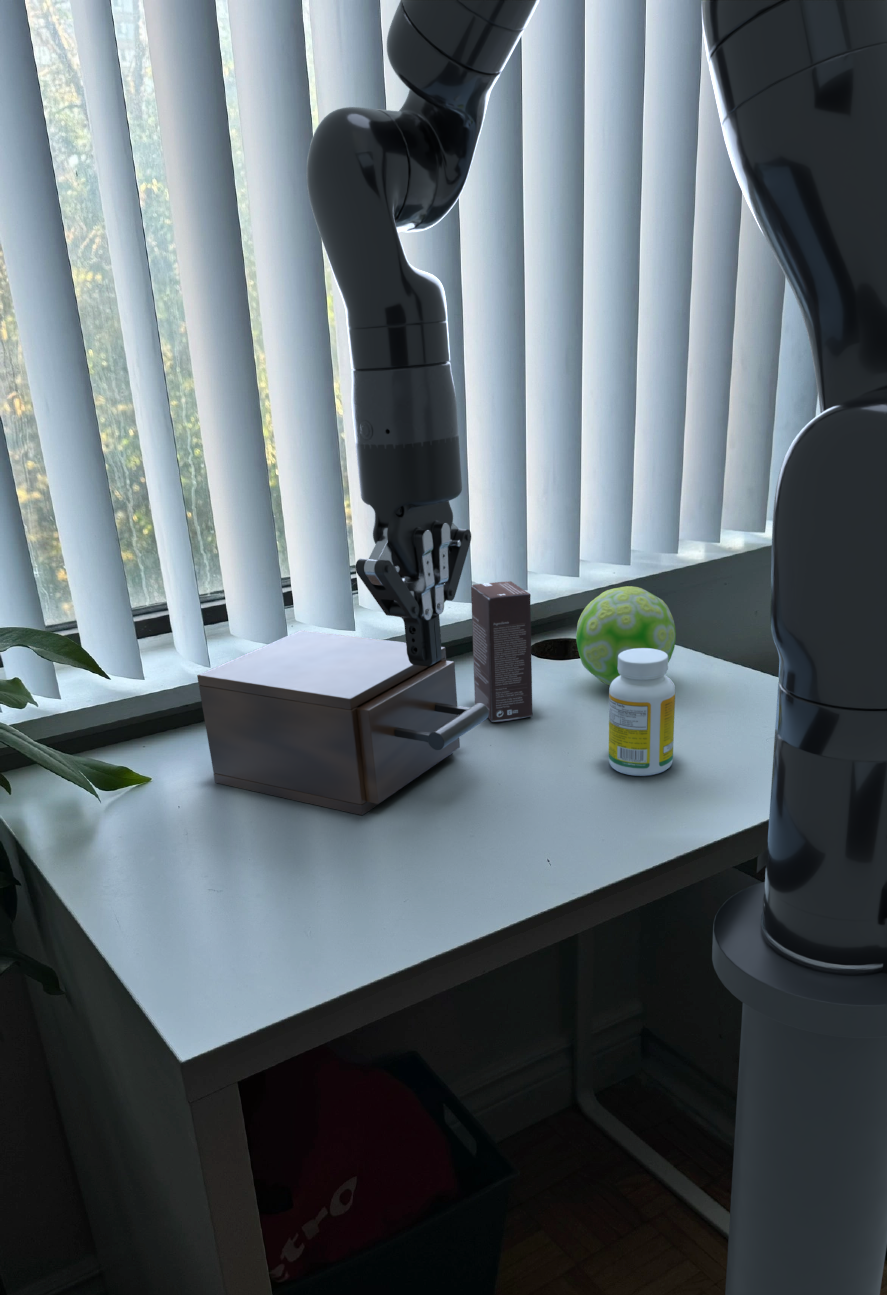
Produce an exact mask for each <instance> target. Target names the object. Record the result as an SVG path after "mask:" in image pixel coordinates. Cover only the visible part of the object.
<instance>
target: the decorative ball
mask: <svg viewBox="0 0 887 1295" xmlns="http://www.w3.org/2000/svg"><path fill="white" fill-rule="evenodd" d="M576 625H577V626H576V634H575V641H576V647H577V651H578V655H579V657H580V661H581V662H580V663H581V664H582V666H583V667H584V669H585V670H586V671H588V672H589V673H591V674H592V676H594V677H595V679H597V680H598V681H600V682H601V683H603V684H606V686H607V685H608V686H610V685H611V683H612V681H613V680H614V679H615V678H617V677H618V676H620V674H619V672H618V669H617V667H618V655H619V654H620V653H621V652H623V651H626V650H630V649H636V648H651V649H657V650H661V651H663V652H665V653H666V654H667V655H668V663H670V660H671V658H672V656H673V653H674V652H675V647H676V638H677V631H676V625H675V620H674V617H673V614H672V613H671V610H670V608H669V606H668V605H667V603H665V601H664V600H663V599H662V598H659V597H658V596H656V595H655V594H653V593H651V592H649V591H648V590H646V589H644V588H642V587H638V586H631V585H630V586H629V585H628V586H620V587H615V588H611V589H607V590H605V591H603V592H601V593H600V594H599V595H597V596H596V597H595V598H594V599H592V600H591V601H590V602H589V603H588V604H587V605H586V606H585V607H584V609H583V610H582V612H581V614H580V615H579V618H578V621H577V624H576Z"/></svg>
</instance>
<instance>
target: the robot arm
mask: <svg viewBox="0 0 887 1295" xmlns="http://www.w3.org/2000/svg"><path fill="white" fill-rule="evenodd" d="M540 1H541V0H400V1H399V4H398V5H397V7H396V11H395V12H394V14H393V18H392V20H391V22H390V26H389V28H388V32H387V37H386V55H387V59H388V61H389V64H390V67H391V68H392V70H393V72H394V73H395V75H396V76H397V78H398V79H399V80H400V81H401V82H402V83H403V85H405V86H406V88H408V89H409V90H408V92H407V93H408V94H407V96H406V99H405V101H404V103H403V105H402V106H401V107H400V109H399V110H392V109H391V110H390V109H378V108H369V107H361V106H360V107H359V106H346V107H342V108H337V109H335V110H332V111H331V112H330V113H328V114H327V115H326V116H325V117H323V119H322V120H321V121H320V122H319V124H318V126H317V127H316V129H315V131H314V133H313V135H312V138H311V140H310V144H309V148H308V152H307V158H306V188H307V193H308V194H307V195H308V199H309V205H310V208H311V211H312V214H313V215H312V216H313V218H314V221H315V224H316V227H317V231H318V233H319V237H320V239H321V242H322V244H323V248H324V251H325V254H326V256H327V260H328V262H329V265H330V269H331V272H332V276H333V278H334V281H335V284H336V286H337V288H338V291H339V294H340V296H341V299H342V303H343V305H344V306H343V307H344V309H345V310H344V311H345V317H346V318H345V320H346V329H347V339H348V348H349V349H348V350H349V358H350V359H349V360H350V369H351V413H352V424H353V433H354V444H355V454H356V461H357V463H356V464H357V472H358V473H357V474H358V483H359V492H360V498H361V500H362V502H363V503H364V504H366V505H367V506H370V508H372V509H373V512H374V522H373V528H372V539H373V542H374V544H375V545H374V546H373V549H372V551H371V552H370V555H369V557H368V558H359V559H357V561H356V563H355V573H356V574H357V576H358V577H359V578H360V580H361V581H362V583H363V585H364V586H365V587H366V588H367V590H368V591H369V594H370V595H371V596H372V597H373V599H374V600H375V602H376V603H377V604H378V606H379V607H380V609H381V610H382V611H383V613H384V614H385V615H386V616H387V617H388V616H389V617H397V618H401V619H402V621H403V624H404V635H405V643H406V646H407V647H406V648H407V655H408V659H409V661H410V663H411V664H413V665H419V666H431V665H432V664H434V663H436V662H438V661H439V660H441V658H442V653H441V647H442V635H441V634H442V633H441V622H440V621H441V619H440V615H442V614H443V612H444V610H445V603H446V601H449V602H451V601H453V600H454V599H455V598H456V594H457V590H458V587H459V584H460V580H461V576H462V574H463V573H462V572H463V570H464V566H465V563H466V559H467V555H468V552H469V549H470V544H471V541H472V532H471V530H470V529H468V528H458V526H457V525H456V524H455V523H454V513H453V509H452V507H451V504H450V501H452V500H454V499H456V498H458V497H459V496H460V495H461V493H462V490H463V480H462V465H461V464H462V463H461V451H460V450H461V449H460V434H459V433H460V432H459V420H458V417H459V416H458V405H457V404H458V402H457V394H456V393H457V392H456V388H455V384H454V383H455V382H454V378H453V373H452V365H451V362H450V361H451V352H450V349H451V348H450V338H449V337H450V336H449V322H448V309H447V308H448V307H447V300H446V298H447V297H446V292H445V289H444V286H443V284H442V282H441V281H440V279H439V278H438V277H436V276H435V275H434V274H432V273H429V272H427V271H424V270H421V269H418V268H417V267H415V266H413V265H412V264H410V262H409V261H408V258H407V254H406V253H405V250H404V246H403V243H402V241H401V238H400V234H399V233H417V232H423V231H426V230H428V229H430V228H432V227H433V226H436V225H437V224H438V223H439V222H440V221H442V220H443V218H444V217H446V216H447V214H448V213H449V212H450V211H451V209H452V208H453V207H454V206H455V205H456V203H457V201H458V199H459V198H460V196H461V194H462V193H463V190H464V187H465V186H466V183H467V180H468V178H469V174H470V170H471V167H472V164H473V161H474V158H475V153H476V150H477V146H478V142H479V139H480V136H481V132H482V129H483V125H484V121H485V117H486V112H487V108H488V103H489V99H490V97H491V96H490V95H491V92H492V90H493V88H494V86H495V84H496V83H497V81H498V79H499V78H500V77H501V74H502V72H503V70H504V69H505V67H506V65H507V63H508V61H509V59H510V58H511V55H512V54H513V52H514V50H515V48H516V47H517V45H518V43H519V41H520V39H521V37H522V35H523V34H524V31H525V30H526V28H527V27H528V24H529V22H531V18H532V17H533V15H534V13H535V12H536V9H537V7H538V6H539V4H540ZM701 23H702V34H703V40H704V47H705V52H706V53H705V54H706V60H707V63H708V69H709V73H710V78H711V83H712V87H713V92H714V97H715V102H716V106H717V111H718V116H719V120H720V125H721V130H722V135H723V138H724V139H723V140H724V143H725V146H726V149H727V150H726V151H727V153H728V157H729V159H730V162H731V167H732V169H733V172H734V174H735V178H736V180H737V182H738V185H739V187H740V190H741V192H742V194H743V196H744V199H745V201H746V203H747V206H748V208H749V209H750V212H751V214H752V215H753V217H754V220H755V221H756V223H757V225H758V228H759V229H760V231H761V233H762V235H763V237H764V239H765V241H766V243H767V245H768V246H769V249H770V250H771V252H772V254H773V256H774V258H775V259H776V261H777V264H778V265H779V267H780V269H781V271H782V272H783V275H784V277H785V279H786V280H787V283H788V285H789V287H790V289H791V291H792V293H793V296H794V299H795V300H796V303H797V305H798V308H799V310H800V314H801V316H802V320H803V323H804V327H805V329H806V333H807V338H808V343H809V347H810V351H811V358H812V363H813V369H814V375H815V382H816V390H817V396H818V404H819V414H817V415H816V416H815V417H814V418H812V419H811V420H810V421H809V422H808V423H806V425H805V426H803V427H802V428H801V429H800V431H799V432H798V433H797V434H796V435H795V437H794V439H793V440H792V442H791V443H790V445H789V447H788V448H787V450H786V453H785V454H784V457H783V459H782V462H781V464H780V465H781V466H780V468H779V472H778V477H777V481H776V485H775V492H774V500H773V510H772V511H773V512H772V524H771V525H772V526H771V528H772V529H771V559H770V561H771V563H770V604H769V605H770V610H769V612H770V613H769V618H770V630H771V636H772V639H773V642H774V645H775V647H776V650H777V653H778V661H779V662H778V664H779V665H778V666H779V667H778V683H777V694H776V696H777V697H776V710H775V711H776V712H775V713H776V714H775V726H774V728H775V729H774V739H773V754H772V769H771V770H772V771H771V786H770V799H769V800H770V801H769V814H768V832H767V845H766V849H764V850H763V851H762V852H761V853H760V854H758V856H757V863H756V864H757V865H756V873H759V872H760V871H761V870H762V869H763V868H764V867H765V874H764V877H765V879H764V882H765V890H764V898H763V912H762V915H761V926H760V929H761V934H762V936H763V939H764V940H765V942H766V943H767V944H768V946H769V947H770V948H771V949H773V950H774V951H775V952H776V953H777V954H779V955H780V956H782V957H783V958H785V959H787V960H789V961H791V962H793V963H795V964H798V965H800V966H803V967H806V968H809V969H812V970H816V971H820V972H825V973H830V974H838V975H870V974H877V973H885V974H887V0H701Z"/></svg>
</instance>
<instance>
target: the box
mask: <svg viewBox="0 0 887 1295" xmlns="http://www.w3.org/2000/svg"><path fill="white" fill-rule="evenodd" d="M470 596H471V598H470V599H471V601H470V602H471V624H472V626H471V628H472V659H473V660H472V661H473V690H474V705H475V704H477V703H482V704H484V705H485V706H486V707H487V708H488V711H489V715H488V718H487V719H489V720H490V722H491V723H502V722H508V721H509V722H511V721H515V720H520V719H525V718H530V717H533V672H532V671H533V668H532V667H533V666H532V619H531V618H532V616H531V612H532V609H531V608H532V607H531V597H532V596H531V593H529V592H528V591H527V590H525V589H523V588H522V587H520V586H519V585H518V584H516V583H514V582H513V581H511V580H509V581H497V582H495V581H494V582H485V583H478V584H477V583H476V584H472V585H471V586H470Z"/></svg>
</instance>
